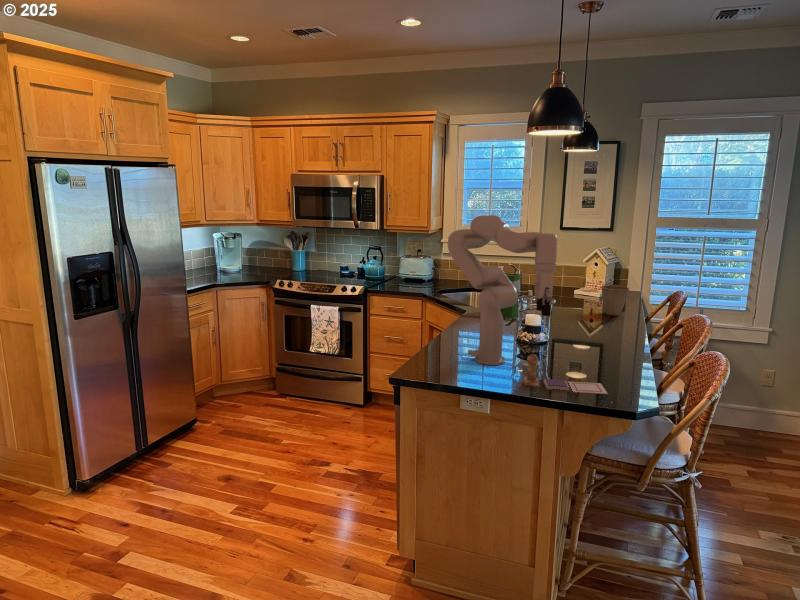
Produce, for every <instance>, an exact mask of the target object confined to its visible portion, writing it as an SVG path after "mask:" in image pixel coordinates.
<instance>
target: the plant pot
mask: <svg viewBox="0 0 800 600" xmlns="http://www.w3.org/2000/svg"><path fill="white" fill-rule="evenodd" d="M629 292H630V287H627V286H623V285H616V284H605V285H601V295H602V296H601V297H602V303H603V307H604V311H605V314H606V315H608V316H620V315H621V313H622V311H623V308H624V307H625V304H626V302H627V299H628V296H629Z"/></svg>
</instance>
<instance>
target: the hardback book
mask: <svg viewBox="0 0 800 600" xmlns="http://www.w3.org/2000/svg"><path fill="white" fill-rule="evenodd" d="M504 273H505V274H506V276H507V277H508V278H509V280H510V281H511V283H512V284H513V286H514V287H515V289H516V291H517V293H518V299H519V300H520V282H521V274H518V273H512V272H511V273H509V272H504ZM519 302H520V301H519ZM519 302H518V300H517V302H516V304H515V305H513V306H511V307H507V308H502V309H500V311H501V314H502V316H503V318H507V319H514V318H516V317H518V316H519V304H520V303H519Z"/></svg>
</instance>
